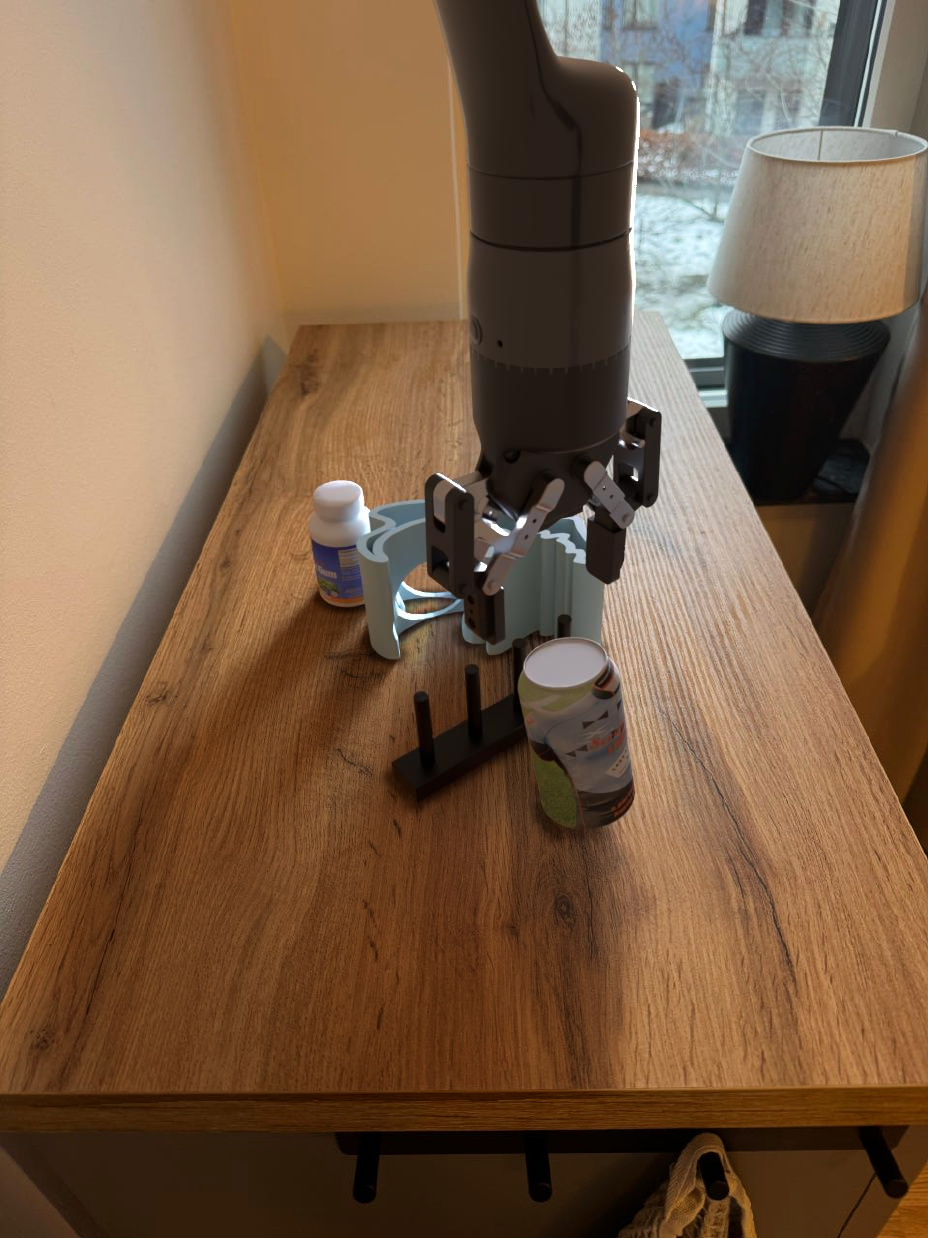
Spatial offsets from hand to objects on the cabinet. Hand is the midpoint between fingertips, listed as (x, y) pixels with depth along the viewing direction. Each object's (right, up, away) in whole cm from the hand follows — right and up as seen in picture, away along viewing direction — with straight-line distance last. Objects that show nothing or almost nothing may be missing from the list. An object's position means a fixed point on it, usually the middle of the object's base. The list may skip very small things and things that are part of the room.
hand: (547, 605), depth 52 cm
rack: (-2, -9, +13) cm, 16 cm away
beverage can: (+3, -13, +8) cm, 15 cm away
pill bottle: (-14, +2, +27) cm, 30 cm away
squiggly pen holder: (-3, -2, +22) cm, 22 cm away
